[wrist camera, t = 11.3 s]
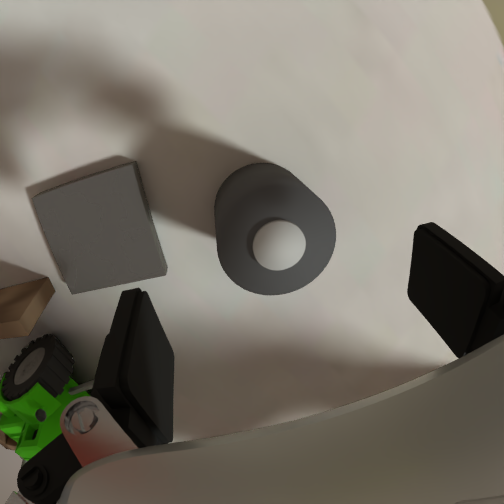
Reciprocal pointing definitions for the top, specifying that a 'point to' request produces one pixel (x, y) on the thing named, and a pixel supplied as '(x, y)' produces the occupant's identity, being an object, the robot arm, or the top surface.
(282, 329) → the top surface
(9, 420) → the toy tractor
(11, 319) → the bay
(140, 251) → the pad
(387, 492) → the robot arm
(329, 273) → the top surface
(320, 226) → the dark grey short cylinder
